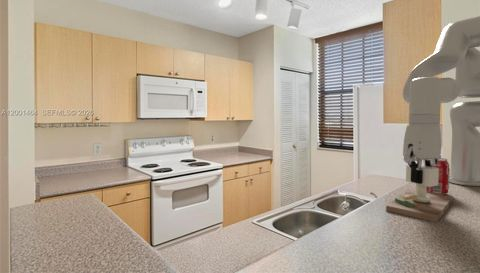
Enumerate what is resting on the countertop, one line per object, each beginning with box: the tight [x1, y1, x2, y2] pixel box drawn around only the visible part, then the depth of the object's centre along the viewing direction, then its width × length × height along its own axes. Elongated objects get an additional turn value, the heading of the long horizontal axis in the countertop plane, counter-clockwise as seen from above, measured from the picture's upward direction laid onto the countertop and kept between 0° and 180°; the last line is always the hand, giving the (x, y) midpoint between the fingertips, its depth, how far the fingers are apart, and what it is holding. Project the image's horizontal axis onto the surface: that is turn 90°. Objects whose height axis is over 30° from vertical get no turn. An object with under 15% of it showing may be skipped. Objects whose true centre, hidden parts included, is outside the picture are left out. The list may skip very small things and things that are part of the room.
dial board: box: [385, 189, 454, 223], centre depth 80 cm, size 22×12×2 cm, turn 133°
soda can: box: [426, 157, 450, 196], centre depth 92 cm, size 7×7×12 cm
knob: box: [403, 164, 439, 203], centre depth 79 cm, size 9×7×10 cm
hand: (421, 181), depth 79 cm, fingers closed on knob, 3 cm apart
